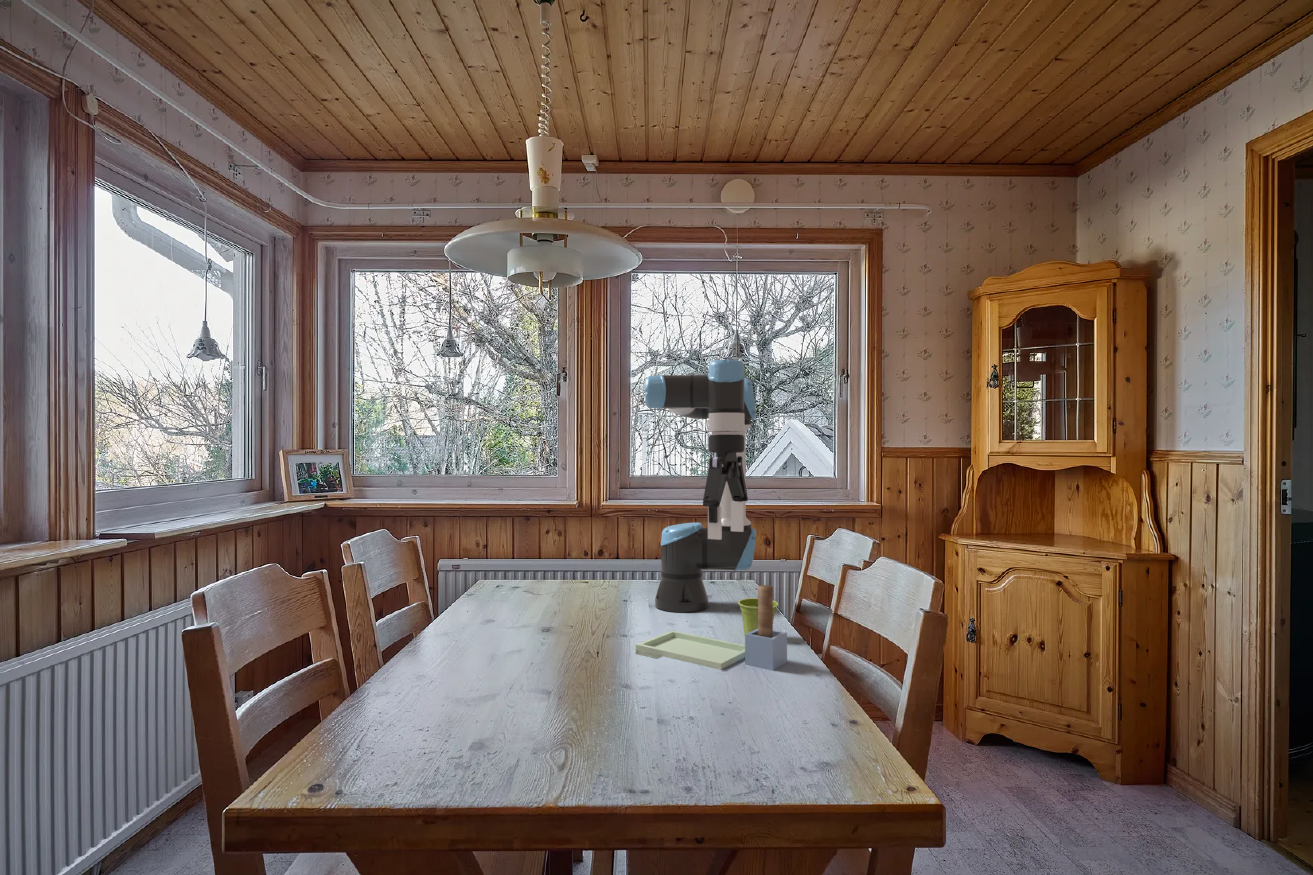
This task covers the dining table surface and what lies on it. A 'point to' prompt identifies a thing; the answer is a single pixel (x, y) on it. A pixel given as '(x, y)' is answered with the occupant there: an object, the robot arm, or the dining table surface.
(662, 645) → the tray
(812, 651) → the dining table surface
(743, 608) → the plant pot
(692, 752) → the dining table surface
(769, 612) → the dowel
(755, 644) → the open box
